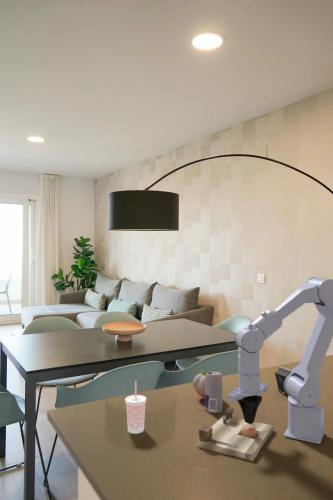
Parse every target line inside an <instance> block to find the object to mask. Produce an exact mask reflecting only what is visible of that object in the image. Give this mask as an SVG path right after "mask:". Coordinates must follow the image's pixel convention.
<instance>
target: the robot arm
mask: <svg viewBox="0 0 333 500" xmlns="http://www.w3.org/2000/svg"><path fill="white" fill-rule="evenodd" d="M311 303H312V304H314V305H315V308H316V309H317V311H318V316H317V318H316V321H315V323H314V327H313V328H312V331H311V334H310V336H309V339H308V341H307V344H306V346H305V349H304V351H303V355H302V357H301V360H300V362H299V364H298V365H297V366H295V367H293V368H292V369H291V370H292V372H291V374H290V375H289V376H288V377H287V378H286V379H285V382H284V388H285V391H286V392H287V393H288V395H287V397H288V398H287V429H286V430H285V432H284V434H283V437H285V438H290V439H293V440H294V439H295V440H300V441H304V442H308V443H313V444H317V445H320V444H321V442H322V440H323V437H324V434H325V408H324V406H323V405H319V404H318V402H319V401H320V397H321V392H320V391H321V386H322V380H321V376H320V372H321V369H322V365H323V363H324V361H325V358H326V355H327V352H328V350H329V348H330V345H331V343H332V340H333V279H329V278H327V279H326V278H321V277H316V276H312V277H309V278H307V279H306V280H305V281H304V282H302V283H300V285H299V286H298V287H297V289H295V291H294V292H292V293H291V294H290V295H289V296H288V297H287V298H286V299H284V300H283V301H282V302H281V303H280V304H279V305H278V306H277V307H276V308H275V309H274V310H270V309H267V310H265V311H264V310H262V311H261V312H260V314H259V315H260V316H259V317H257V318H256V319H255V320H253V321H251V322H248V324H247V325H246V326H247V327H242V328H240V329H239V330H237V333H236V335H235V337H234V342H235V344H236V345H237V346H238V347H237V348H238V349H237V353H238V355H237V358H238V362H237V368H238V369H237V371H238V372H237V373H238V374H237V376H238V382H237V383H238V387H237V388H235V389H234V390H233V391H232V392H229V393H228V396H227V397H228V400H227V401H228V402H229V403H232V404H235V403H238V404H239V406H240V409H241V411H242V416H243V419H244V420H245V422H246V423H248V424H253V423H254V422H255V420H256V419H255V418H256V415H257V412H258V409H259V407H260V405H261V403H262V401H263V397H262V395H263V393H264V392H269V383H266V382H260V381H261V379H260V375H261V374H260V371H261V370H260V350H262V348H263V347H264V346H263V345H264V342H265V341H266V340H267V339H269V338H270V337H271V336H272V335H273V334H274V333H275V332H277V331H278V330H279V329H280V328H282V326H283V320H285V319H286V318H287V317H288V316H290V315H291V314H292V313H294V312H295V311H297V310H298V309H299V308H301V307H302V306H304V305H305V304H311Z"/></svg>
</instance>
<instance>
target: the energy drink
mask: <svg viewBox="0 0 333 500" xmlns="http://www.w3.org/2000/svg"><path fill="white" fill-rule="evenodd" d="M205 372H206V375H205V399H204V400H205V401H204V403H205V404H204V405H205V407H204V408H205V411H206V412H207V413H210V414H219V413H221V412H222V411H223V375H222V372H221V371H219V370H206V371H205Z"/></svg>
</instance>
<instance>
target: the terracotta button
mask: <svg viewBox="0 0 333 500" xmlns="http://www.w3.org/2000/svg"><path fill="white" fill-rule="evenodd" d="M241 436H245V437H249V438H253V439H256V437H257V436H256V427H255V426H252V425H244V426H242V435H241Z"/></svg>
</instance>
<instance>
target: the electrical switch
mask: <svg viewBox="0 0 333 500" xmlns="http://www.w3.org/2000/svg"><path fill="white" fill-rule="evenodd" d="M292 370H293V369H289V368H287V367H284V366H278V369H277V370H276V371H275V372H274V375H275V381H276V385H277V389H278V392H280V391H281V392H284V393H285V394H284V395H286V394H287V395H286V396H288V393H287V392H286V391H285V388H284V382H285V379H286V378H287V377H288V376H289V375H290V374H291V372H292ZM281 392H280V393H281Z"/></svg>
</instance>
